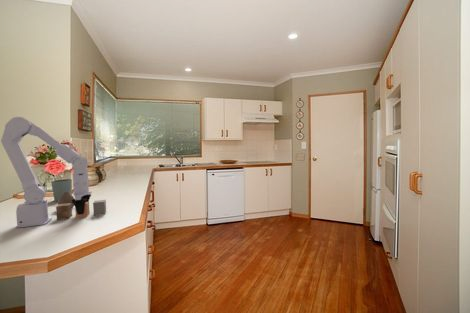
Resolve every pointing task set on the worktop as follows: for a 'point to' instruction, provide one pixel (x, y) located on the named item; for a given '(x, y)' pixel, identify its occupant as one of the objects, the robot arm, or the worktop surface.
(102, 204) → the charcoal block
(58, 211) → the walnut block
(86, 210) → the terracotta block
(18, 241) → the worktop surface
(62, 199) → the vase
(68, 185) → the teal plant pot
